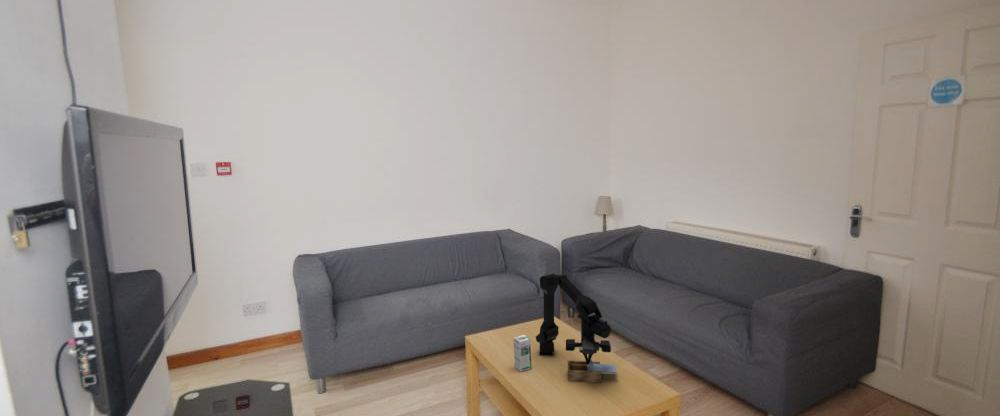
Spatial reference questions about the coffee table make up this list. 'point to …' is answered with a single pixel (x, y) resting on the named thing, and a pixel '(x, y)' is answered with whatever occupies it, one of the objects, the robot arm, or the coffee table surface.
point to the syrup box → (522, 353)
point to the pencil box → (582, 372)
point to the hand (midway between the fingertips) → (587, 364)
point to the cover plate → (602, 368)
